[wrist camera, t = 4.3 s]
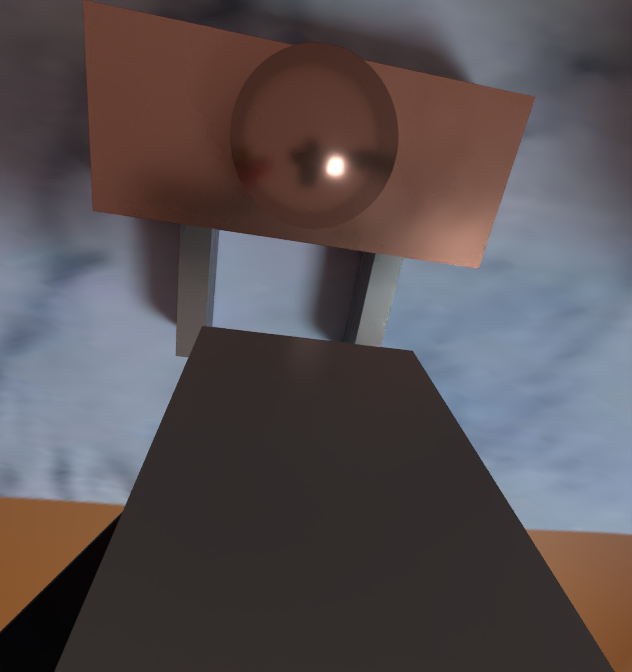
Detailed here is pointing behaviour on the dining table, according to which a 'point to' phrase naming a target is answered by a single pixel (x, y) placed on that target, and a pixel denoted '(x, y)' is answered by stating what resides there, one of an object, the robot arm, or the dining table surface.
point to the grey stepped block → (319, 530)
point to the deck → (291, 153)
